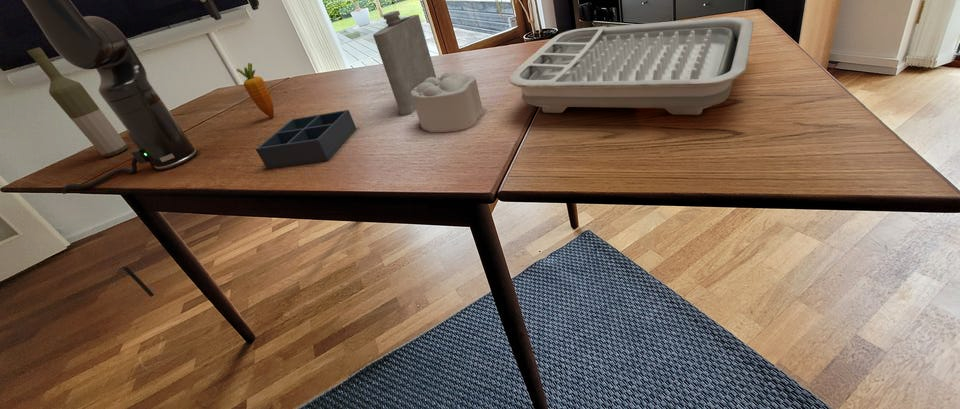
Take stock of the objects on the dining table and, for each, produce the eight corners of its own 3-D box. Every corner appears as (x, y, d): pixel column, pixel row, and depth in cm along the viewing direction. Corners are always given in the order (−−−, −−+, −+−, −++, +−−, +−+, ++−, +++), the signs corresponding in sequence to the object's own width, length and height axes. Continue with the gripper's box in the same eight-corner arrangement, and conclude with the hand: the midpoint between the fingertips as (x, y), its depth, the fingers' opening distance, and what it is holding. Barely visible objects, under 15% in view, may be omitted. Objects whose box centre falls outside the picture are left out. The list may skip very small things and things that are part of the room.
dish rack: (736, 131, 57) (745, 75, 52) (505, 124, 76) (496, 82, 71) (749, 55, 77) (756, 10, 73) (564, 64, 96) (561, 29, 92)
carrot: (259, 122, 113) (229, 69, 105) (269, 115, 117) (241, 63, 109) (275, 120, 112) (246, 65, 103) (284, 112, 116) (257, 59, 107)
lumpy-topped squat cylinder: (468, 130, 77) (457, 86, 72) (411, 133, 82) (397, 92, 78) (487, 107, 85) (478, 66, 80) (433, 111, 90) (421, 72, 85)
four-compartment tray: (266, 168, 84) (255, 149, 81) (301, 137, 95) (292, 119, 93) (328, 160, 80) (318, 139, 78) (356, 128, 92) (348, 109, 89)
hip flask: (409, 114, 92) (377, 20, 81) (394, 115, 94) (362, 23, 83) (441, 87, 103) (417, 1, 92) (428, 88, 105) (403, 4, 94)
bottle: (120, 147, 124) (40, 47, 107) (135, 146, 121) (56, 42, 105) (97, 159, 118) (9, 55, 102) (113, 158, 116) (26, 51, 99)
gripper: (234, -80, 85) (273, 4, 94) (168, -63, 85) (212, 20, 94) (221, -82, 79) (263, 8, 88) (149, -63, 78) (199, 25, 87)
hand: (237, 14), depth 91 cm, fingers open, 8 cm apart
